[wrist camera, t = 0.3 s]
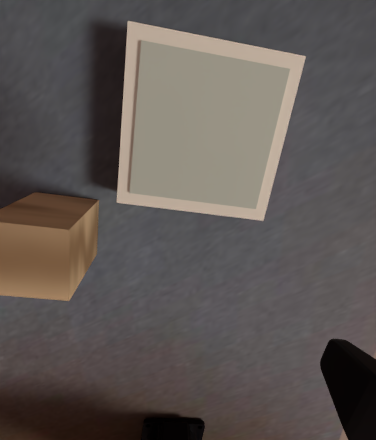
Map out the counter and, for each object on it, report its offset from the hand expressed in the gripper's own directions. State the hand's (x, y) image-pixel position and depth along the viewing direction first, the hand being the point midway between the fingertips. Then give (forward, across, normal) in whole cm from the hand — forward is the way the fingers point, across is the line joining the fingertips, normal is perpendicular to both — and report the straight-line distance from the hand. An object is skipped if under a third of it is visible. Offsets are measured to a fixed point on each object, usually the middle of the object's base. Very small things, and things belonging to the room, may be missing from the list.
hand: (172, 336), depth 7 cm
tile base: (+13, -1, -5) cm, 14 cm away
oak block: (+14, +8, +3) cm, 16 cm away
